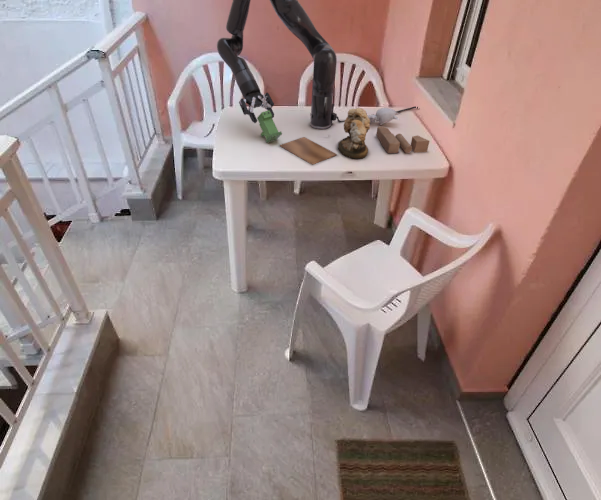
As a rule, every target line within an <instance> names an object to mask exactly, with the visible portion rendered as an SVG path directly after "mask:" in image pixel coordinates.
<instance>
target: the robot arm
mask: <svg viewBox="0 0 601 500" xmlns="http://www.w3.org/2000/svg"><path fill="white" fill-rule="evenodd" d="M269 2H270V4H271V7H272V8H273V10H274V12H275V14H276V16H277V17H278V18H279V20H280V21H281V22H282V24H283V25H284V26H285V27H286V28H287V30H288V31H289V32H290V33H292V35H294V36H295V37H296V38H297V39H298V40H300V42H301V43H302V44H303V45H304V46H305V48H306V50H307V51H308V53H309V54H310V56H311V58H312V60H313V69H312V70H313V72H312V73H313V74H312V76H313V77H312V79H311V80H312V81H311V83H312V84H311V104H310V112H309V116H310V123H309V126H310V127H311V128H313V129H317V130H326V129H329V128H331V126H333V123H334V122H335V121H337V122H339V123H345V122H344V121H345V120H341V119H340V118H339V116H338V114H337V113H336V112H334V109H335V108H334V107H335V103H333V101H334V88H335V81H336V73H337V63H338V62H337V60H338V59H337V53H336V51H335V49H334V47H332V45H331V44H330V43H328V41H327V40H326V39H325V37H323V36H322V34H321V33H320V32H319V31H318V30H317V28H316V26H315V24H314V23H313V21H312V19H311V18H310V16H309V14H308V13H307V11H306V10H305V8H304V7H303V6H302V5H301V3H300V1H299V0H269ZM250 6H251V0H232V2H231V5H230V9H229V13H228V16H227V20H226V24H225V30H226V31H227V32H228V33H229V34H230V35H231V37H220V38H219V39H218V40H217V42H216V50H217V53H218V55H219V56H220V58H221V60H223V62H224V64H226V66H227V67H228V68H229V69H230V71H231V73H232V75H233V77H234V79H235V82H236V84H237V87H238V89H239V91H240V93H241V96H242V97H243V98H240V99H239V102H238V104H239V107H240V109H241V111H242V113H243V116H246V115H248V116H249V118H250V120H251V122H252V123H254V124H256V123H257V122H258V119H257V117H256V114H255V112H253V111H254V109H256V108H262V109H265V111H268V110H270V112H271V114H272V119H273V118H275V112H274V110H273V109H272V108H273V107H274V106H275V102H274V101H273V99H272V96H271V95H270V93H269V92H265V93H264V94H263V93H262V92H261V89H260V86H259V84H258V82H257V81H256V78H255V76H254V74H253V73H252V71H251V69H250V67H249V65H248V62H247V61H246V60H245V58H244V57H241V54H242V52H243V49H244V32H245V27H246V24H247V21H248V17H249V12H250ZM247 105H248V107H247ZM416 106H417V105H416ZM416 106H412V107H408V108H403V109H400V110H395V111H396V112H397V113H401V112H404V111H405V112H406V111H410V110H413V109H417V110H419V109H418V107H419V106H417V108H416Z"/></svg>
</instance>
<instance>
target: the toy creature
mask: <svg viewBox="0 0 601 500" xmlns="http://www.w3.org/2000/svg"><path fill="white" fill-rule="evenodd" d="M396 111H397V110H395V109H393V108H388V107H382V108H379V109H378V110H377V111H376V112H375V114H367V116H368V118H369V119H370V123H372V122H373V123H375V122H378V124H379V126H382V125H384V124H386V123H390V122H391V121H393V120H397V121H398V120H399V121H400V118H399V117H398V116H397V115H401V112H398V113H397V112H396Z"/></svg>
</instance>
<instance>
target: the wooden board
mask: <svg viewBox="0 0 601 500" xmlns="http://www.w3.org/2000/svg"><path fill="white" fill-rule="evenodd" d="M279 146H280V147H281V148H282V149H285V150H286V151H287V152H289V153H291V154H293V155H295V156H296V157H298V158H300V159H301V160H303V161H305V162H307V163H309V164H310V165H316V164H318V163H321V162H323V161H326V160H329V159H331V158H333V157H336V156H337V153H336V152H333V150H332V151H331V150H330V149H328V148H326V147H324V146H322V145H320V144H318V143H317V142H314V140H313V141H312V140H310V139H309V138H307V137H304V136H303V137H299V138H297V139H293V140H291V141H288V142H284V143H282V144H280V145H279Z"/></svg>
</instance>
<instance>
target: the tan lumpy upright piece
mask: <svg viewBox="0 0 601 500" xmlns="http://www.w3.org/2000/svg"><path fill="white" fill-rule="evenodd" d="M367 115H368V113H367V111H366V110H365V109H364V108H362V107H356V108H350V109H349V110H348V111H347V116H346V118H345V120H343V121H344V122H343V130H344V133H345V134H348V135H347V136H346V137H344V138H342V139H341V140H340V141H339V142H338V145H337V148H338V151H339V152H340V154H342V155H343V156H344V157H346V158H349V159H352V160H362V159H365V158H366V157H367V156H368V154H369V148H368V146H367V145H366V137H367V133H368V132H369V131H370V126H371V125H370V123H371V122H370V119H369V118H368V116H367Z"/></svg>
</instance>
